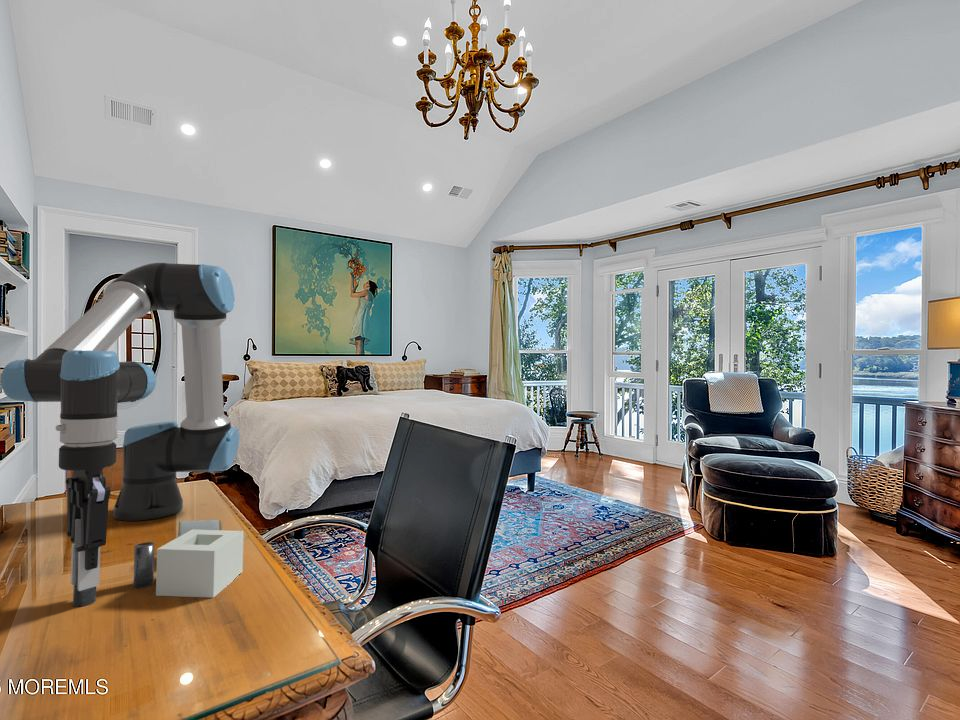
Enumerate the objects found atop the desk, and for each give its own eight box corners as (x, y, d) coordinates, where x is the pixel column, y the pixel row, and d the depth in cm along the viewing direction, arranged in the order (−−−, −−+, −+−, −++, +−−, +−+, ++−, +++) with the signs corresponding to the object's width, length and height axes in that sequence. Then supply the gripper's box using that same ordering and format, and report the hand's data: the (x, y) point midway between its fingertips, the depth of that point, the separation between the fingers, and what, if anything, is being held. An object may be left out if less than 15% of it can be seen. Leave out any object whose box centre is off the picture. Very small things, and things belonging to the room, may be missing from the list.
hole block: (191, 571, 95) (192, 529, 95) (242, 572, 95) (243, 531, 95) (155, 595, 85) (157, 549, 85) (213, 597, 85) (214, 550, 85)
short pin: (141, 580, 91) (142, 542, 91) (157, 580, 91) (158, 542, 91) (129, 587, 88) (130, 548, 88) (145, 588, 88) (147, 548, 88)
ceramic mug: (223, 559, 101) (224, 521, 101) (176, 567, 97) (177, 527, 97) (219, 543, 110) (220, 508, 110) (176, 549, 106) (177, 513, 106)
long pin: (83, 597, 84) (85, 514, 84) (100, 598, 84) (102, 515, 84) (68, 606, 81) (70, 520, 81) (86, 607, 81) (88, 521, 81)
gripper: (45, 440, 84) (42, 578, 84) (75, 451, 75) (71, 608, 75) (99, 435, 90) (95, 565, 90) (133, 445, 81) (129, 590, 81)
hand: (84, 584), depth 83 cm, fingers closed on long pin, 3 cm apart
